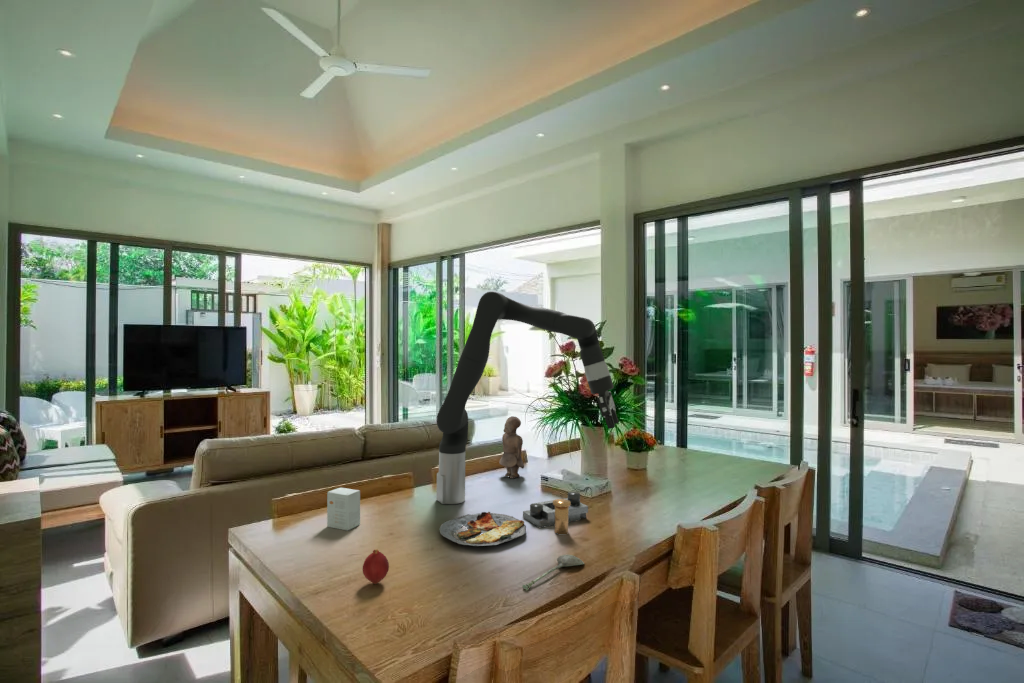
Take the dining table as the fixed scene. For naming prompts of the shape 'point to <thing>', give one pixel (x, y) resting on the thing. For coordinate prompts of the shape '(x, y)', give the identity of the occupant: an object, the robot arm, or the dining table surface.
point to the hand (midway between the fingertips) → (613, 425)
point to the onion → (375, 567)
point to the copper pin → (561, 515)
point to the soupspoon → (562, 561)
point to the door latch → (545, 511)
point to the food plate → (483, 529)
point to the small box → (343, 508)
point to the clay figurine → (512, 447)
